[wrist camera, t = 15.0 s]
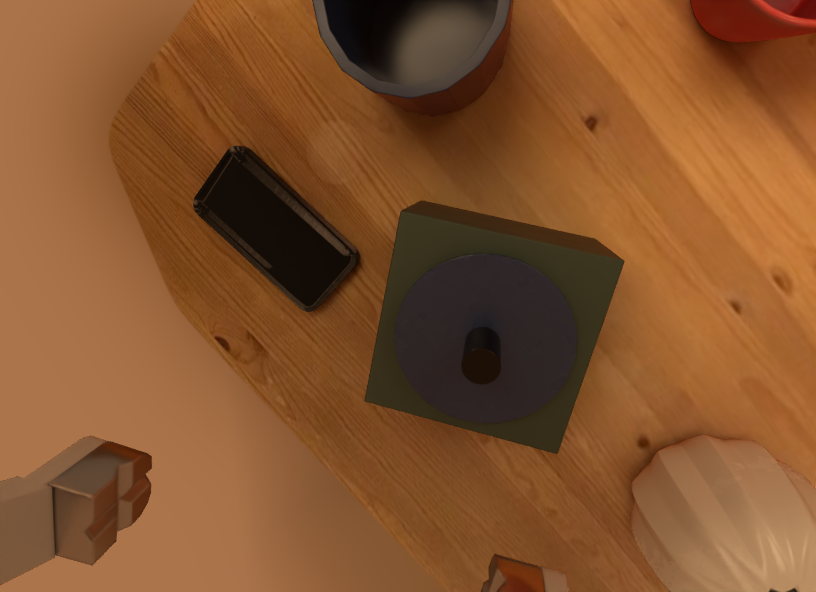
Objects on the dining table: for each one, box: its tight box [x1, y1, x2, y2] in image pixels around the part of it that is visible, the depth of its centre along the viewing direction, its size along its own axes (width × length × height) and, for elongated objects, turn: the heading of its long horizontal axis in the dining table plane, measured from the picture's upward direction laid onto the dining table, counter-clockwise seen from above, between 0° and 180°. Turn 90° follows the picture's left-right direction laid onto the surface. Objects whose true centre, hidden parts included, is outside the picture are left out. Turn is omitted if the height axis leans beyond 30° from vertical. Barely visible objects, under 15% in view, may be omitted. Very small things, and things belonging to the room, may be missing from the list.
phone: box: [193, 146, 359, 312], centre depth 43 cm, size 8×1×15 cm
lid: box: [395, 253, 577, 423], centre depth 31 cm, size 12×12×5 cm
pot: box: [312, 0, 514, 116], centre depth 31 cm, size 11×11×12 cm
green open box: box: [365, 201, 624, 454], centre depth 38 cm, size 15×15×9 cm
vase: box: [630, 435, 816, 592], centre depth 37 cm, size 14×14×13 cm
